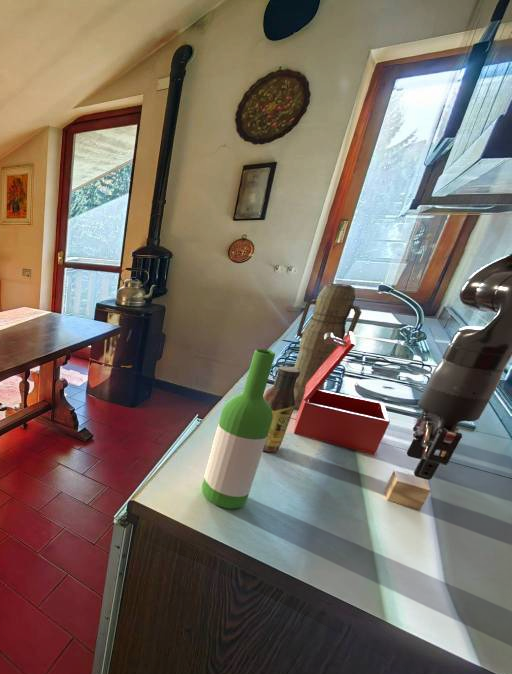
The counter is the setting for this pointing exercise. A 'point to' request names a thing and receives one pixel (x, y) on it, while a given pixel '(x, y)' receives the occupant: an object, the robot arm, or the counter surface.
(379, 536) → the counter surface
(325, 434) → the red box
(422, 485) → the block
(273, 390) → the sauce bottle
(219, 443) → the wine bottle
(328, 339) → the red box lid
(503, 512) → the counter surface
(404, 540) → the counter surface
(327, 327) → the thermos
